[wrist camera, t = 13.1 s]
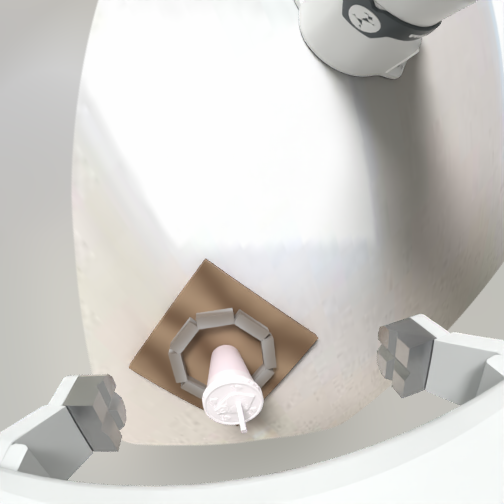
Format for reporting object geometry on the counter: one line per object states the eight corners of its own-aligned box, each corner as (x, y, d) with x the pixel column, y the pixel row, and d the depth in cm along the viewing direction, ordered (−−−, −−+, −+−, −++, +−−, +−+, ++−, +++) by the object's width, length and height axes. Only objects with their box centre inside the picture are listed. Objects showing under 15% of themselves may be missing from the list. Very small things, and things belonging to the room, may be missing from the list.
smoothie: (258, 364, 40) (283, 438, 27) (215, 383, 40) (224, 461, 26) (236, 327, 38) (255, 398, 25) (191, 348, 38) (190, 425, 25)
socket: (205, 258, 37) (205, 263, 35) (315, 334, 42) (322, 343, 39) (130, 363, 39) (126, 373, 36) (236, 420, 43) (238, 432, 40)
